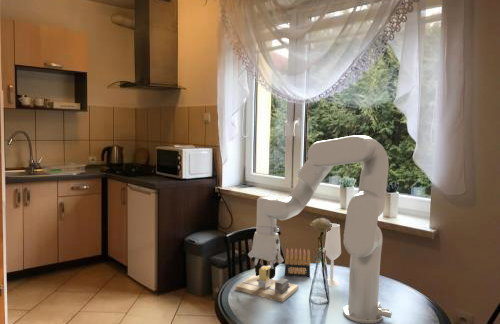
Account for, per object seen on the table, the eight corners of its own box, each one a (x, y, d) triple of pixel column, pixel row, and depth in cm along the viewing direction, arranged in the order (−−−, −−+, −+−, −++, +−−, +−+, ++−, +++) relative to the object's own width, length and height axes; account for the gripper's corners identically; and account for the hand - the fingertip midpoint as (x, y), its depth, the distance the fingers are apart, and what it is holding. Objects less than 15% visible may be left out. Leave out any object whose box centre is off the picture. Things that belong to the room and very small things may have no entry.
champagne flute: (336, 279, 164) (338, 222, 162) (342, 286, 157) (344, 226, 155) (320, 280, 163) (322, 223, 161) (326, 286, 156) (328, 227, 154)
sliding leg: (275, 282, 154) (275, 264, 154) (265, 289, 147) (265, 270, 147) (268, 280, 156) (268, 263, 155) (258, 287, 149) (258, 269, 148)
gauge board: (298, 288, 153) (298, 275, 153) (282, 301, 141) (283, 286, 140) (253, 278, 163) (253, 265, 162) (235, 289, 151) (235, 275, 150)
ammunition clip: (309, 275, 168) (310, 248, 167) (310, 277, 166) (310, 249, 165) (284, 274, 169) (285, 246, 168) (284, 276, 167) (285, 248, 166)
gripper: (291, 230, 147) (289, 277, 149) (251, 224, 156) (250, 269, 157) (282, 234, 141) (281, 284, 142) (241, 228, 149) (240, 275, 151)
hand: (265, 275), depth 150 cm, fingers open, 5 cm apart
